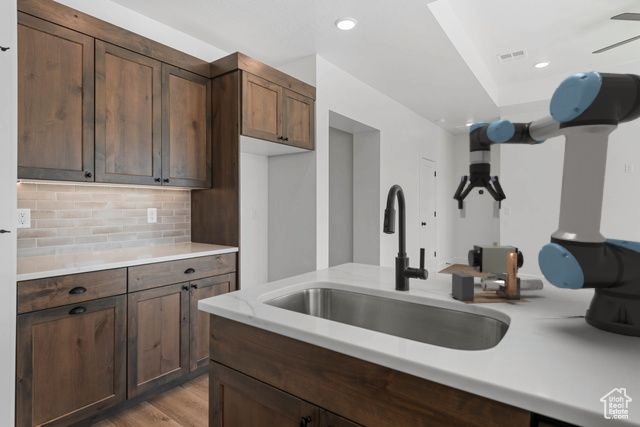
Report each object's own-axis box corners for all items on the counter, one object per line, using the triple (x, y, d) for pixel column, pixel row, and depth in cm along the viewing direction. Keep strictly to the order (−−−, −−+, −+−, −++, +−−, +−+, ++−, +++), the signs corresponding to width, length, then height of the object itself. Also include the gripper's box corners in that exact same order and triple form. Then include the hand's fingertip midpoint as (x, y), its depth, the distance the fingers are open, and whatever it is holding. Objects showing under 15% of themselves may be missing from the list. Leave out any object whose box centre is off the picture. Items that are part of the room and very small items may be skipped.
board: (530, 304, 112) (531, 301, 112) (465, 306, 110) (465, 303, 110) (507, 294, 124) (507, 292, 124) (448, 295, 122) (448, 293, 122)
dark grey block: (473, 301, 113) (474, 276, 112) (462, 301, 112) (462, 276, 112) (463, 295, 120) (463, 272, 119) (451, 295, 119) (452, 272, 119)
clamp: (520, 299, 114) (520, 278, 114) (508, 300, 114) (508, 278, 114) (506, 294, 121) (507, 273, 121) (495, 294, 121) (496, 274, 121)
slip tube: (535, 288, 120) (536, 249, 120) (558, 296, 110) (559, 253, 110) (480, 289, 118) (481, 249, 118) (499, 298, 108) (499, 254, 108)
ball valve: (513, 285, 137) (513, 241, 137) (523, 291, 129) (524, 243, 128) (466, 284, 139) (466, 240, 138) (473, 289, 131) (474, 242, 130)
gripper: (504, 164, 140) (503, 217, 140) (444, 164, 137) (444, 217, 138) (516, 162, 132) (515, 217, 132) (453, 161, 130) (453, 218, 130)
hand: (479, 217), depth 135 cm, fingers open, 13 cm apart
